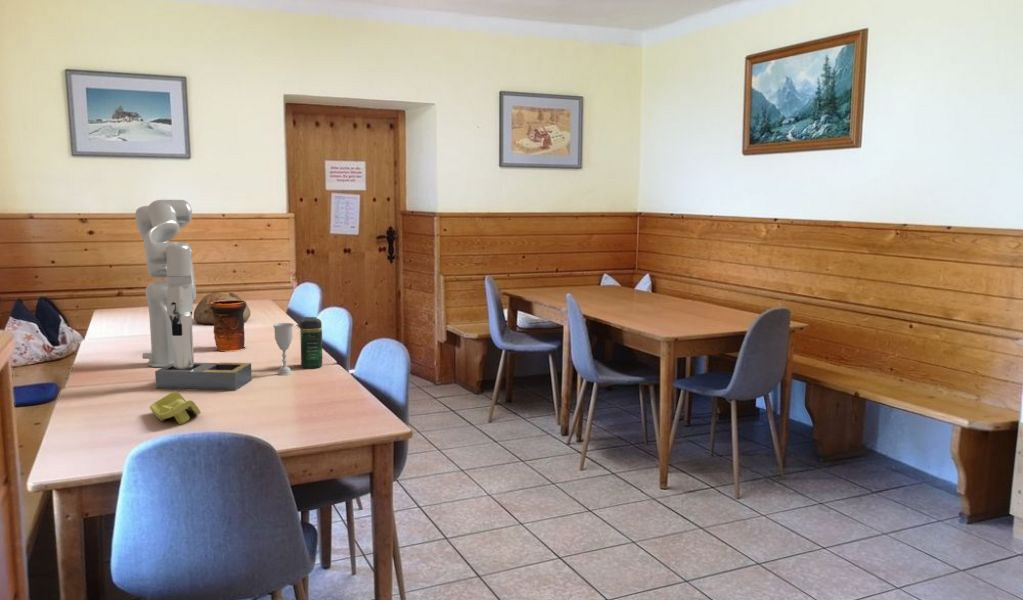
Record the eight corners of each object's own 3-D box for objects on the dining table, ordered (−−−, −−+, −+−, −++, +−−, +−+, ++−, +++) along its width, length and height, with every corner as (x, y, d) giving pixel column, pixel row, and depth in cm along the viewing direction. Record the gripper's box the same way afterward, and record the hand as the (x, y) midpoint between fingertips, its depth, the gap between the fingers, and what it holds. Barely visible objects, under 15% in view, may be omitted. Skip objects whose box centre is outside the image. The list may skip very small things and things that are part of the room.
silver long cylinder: (187, 387, 264) (183, 313, 261) (170, 385, 265) (166, 312, 262) (199, 382, 270) (195, 310, 267) (182, 381, 272) (178, 310, 268)
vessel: (203, 350, 324) (201, 302, 322) (227, 345, 337) (226, 298, 335) (230, 353, 319) (229, 304, 317) (254, 347, 332) (253, 300, 330)
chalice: (299, 372, 286) (297, 323, 284) (287, 376, 280) (286, 326, 277) (281, 370, 289) (280, 322, 286) (270, 374, 282) (268, 325, 280)
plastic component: (148, 406, 232) (179, 387, 237) (161, 426, 234) (192, 407, 239) (161, 417, 216) (195, 397, 220) (175, 439, 218) (208, 418, 223)
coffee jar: (323, 368, 293) (322, 319, 291) (301, 369, 291) (300, 320, 288) (322, 362, 302) (320, 315, 300) (300, 364, 300) (299, 316, 298)
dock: (156, 388, 261) (155, 370, 260) (176, 379, 275) (175, 361, 274) (235, 390, 260) (234, 372, 259) (251, 380, 274) (251, 363, 273)
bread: (185, 324, 386) (183, 294, 384) (211, 317, 409) (209, 289, 407) (234, 326, 382) (233, 296, 380) (258, 319, 404) (257, 290, 402)
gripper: (180, 278, 272) (183, 329, 274) (155, 283, 255) (158, 338, 257) (202, 278, 271) (204, 329, 274) (178, 284, 254) (181, 338, 257)
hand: (182, 333), depth 265 cm, fingers closed on silver long cylinder, 6 cm apart
